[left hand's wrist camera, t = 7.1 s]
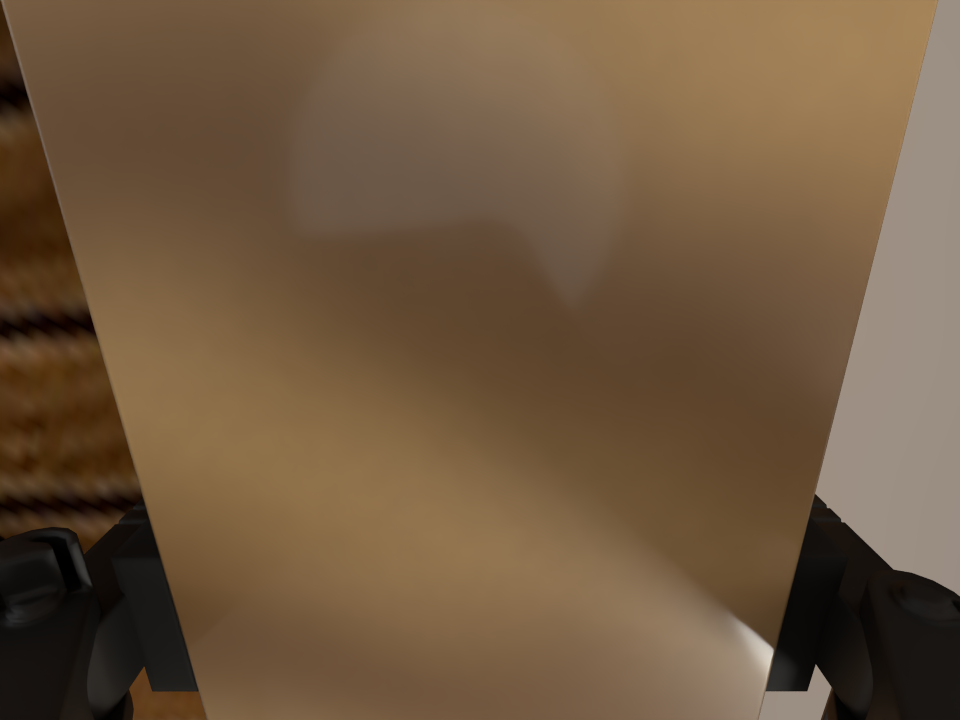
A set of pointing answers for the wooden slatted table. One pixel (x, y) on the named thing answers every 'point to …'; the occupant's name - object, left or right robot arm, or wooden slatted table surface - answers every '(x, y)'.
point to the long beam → (475, 328)
